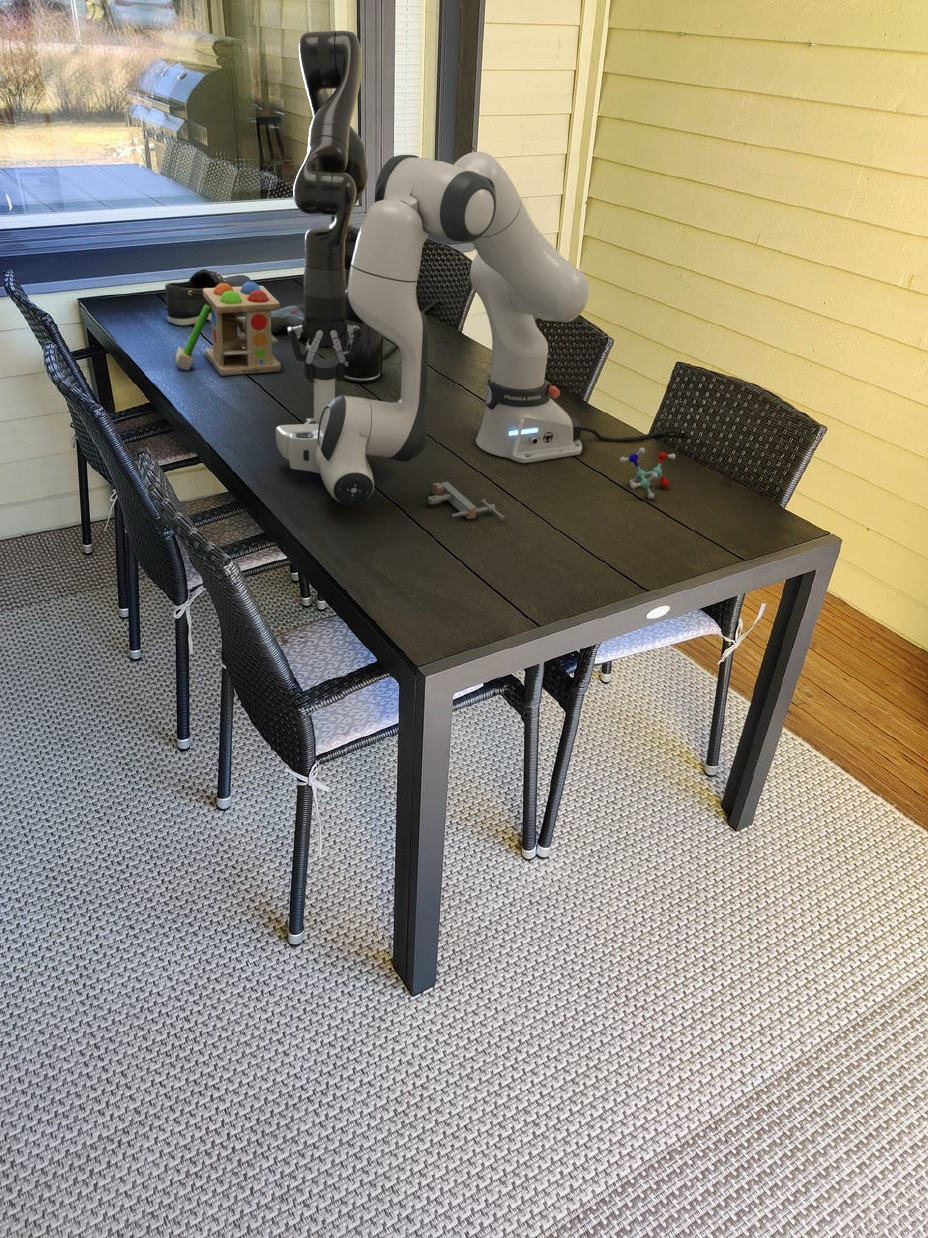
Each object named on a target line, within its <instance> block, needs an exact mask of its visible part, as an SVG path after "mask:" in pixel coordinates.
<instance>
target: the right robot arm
mask: <svg viewBox="0 0 928 1238" xmlns="http://www.w3.org/2000/svg"><path fill="white" fill-rule="evenodd" d="M359 228H360V231H359V234H358V237H357V240H356V244H355V248H354V252H353V257H352V262H351V268H350V271H349V273H348V280H347V281H348V282H347V284H348V285H347V286H348V298H349V302H350V305H351V307H352V309H353V310H354V312H355V313H356V314H357V316H358V317H359V318H360V319H361V320H362V321H363V322H365V323H366V324H367V325H369V326H370V327H371V328H373V329H374V330H376V331H378V332H379V333H381V334H382V335H383V337H385V338H387V339H389V340H390V341H391V342H393V343H394V344H397V345H398V347H397V348H399V350H400V353H401V380H400V381H401V382H400V383H401V384H400V398H399V399H398V400H397V401H395V402H391V401H384V400H378V399H369V398H366V397H359V396H353V395H343V394H339V395H338V396H335V399H333V400H332V401H331V402H330V403H329V404H328V405H327V406H326V407H325V408H324V410H323V412H322V414H321V418H320V421H319V424H315V420H314V417H313V418H312V417H310V418H309V417H308V418H305V423H301V424H300V423H299V424H298V423H297V424H280V425H278V426H276V427H275V443H276V444H275V445H276V447H277V449H278V452H279V453H280V454H281V456H282V457H283V458H284V459H286V460H287V461H288V464H289V467H290V469H292V470H296V471H303V472H304V471H305V472H311V473H315V474H319V475H320V478H321V480H322V482H323V485H324V486H325V489H326V490H327V492H328V493H329V495H330V496H331V497H332V498H333V499H334V500H335V501H337V502H338V503H340V504H343V505H347V506H348V505H350V506H353V505H359V504H362V503H363V502H365V501H367V500H368V499H370V497H371V496H372V494H373V493H374V491H375V481H374V480H375V479H374V475H373V471H372V468H371V465H370V462H369V461H368V458H367V456H372V457H381V458H386V459H389V460H394V461H398V462H403V463H407V462H409V461H411V460H413V459H415V457H417V456H418V455H420V454H421V453H422V452H423V451H424V449H425V447H426V443H427V438H428V420H427V419H428V417H427V396H428V380H429V379H428V375H429V359H430V358H429V357H430V354H429V353H430V329H429V323H428V319H427V315H426V314H425V313H424V314H423V313H422V312H421V311H422V310H420V309H419V308H420V307H419V304H418V299H417V285H418V280H419V274H420V268H421V261H422V253H423V252H422V251H423V245H424V244H425V242H426V240H427V239H428V237H429V234H430V235H434V236H436V237H437V236H438V237H443V238H447V239H450V240H451V241H453V242H460V243H470V242H471V244H472V245H473V247H474V249H475V251H476V254H475V256H474V258H473V259H472V262H471V265H470V271H469V277H470V279H469V280H470V283H471V286H472V289H473V290H474V291H475V293H476V294H477V295H478V297H479V299H480V300H481V302H482V304H483V306H484V309H485V312H486V315H487V318H488V322H489V326H490V332H491V342H492V345H491V361H490V373H489V375H488V376H487V380H486V387H485V396H484V397H485V399H484V400H485V407H484V412H483V417H482V421H481V424H480V427H479V430H478V432H477V435H476V437H475V444H476V445H477V447H478V448H480V449H481V450H483V451H485V452H487V453H489V454H491V455H494V456H497V457H501V458H502V457H503V458H507V459H510V460H512V461H515V462H516V463H520V464H526V463H528V464H529V463H533V462H534V463H535V462H541V461H546V460H552V459H553V460H554V459H559V458H566V457H573V456H578V455H581V454H582V453H583V444H582V441H581V434H582V431H583V432H588V433H591V434H593V435H594V436H595V437H596V438H597V439H598V440H601V441H604V442H612V443H625V442H635V441H636V442H637V441H642V440H645V439H649V438H653V437H659V436H664V435H665V436H667V435H670V434H676V433H675V430H673V429H667V430H662V431H653V432H650V433H647V434H643V435H638V436H632V437H607V436H603V435H601V434H600V433H599V432H598V431H597V430H596V429H593V428H591V427H589V426H588V427H587V426H582V425H581V424H580V422H579V421H578V420H577V418H575V417H574V416H569V414H568V413H567V411H565V409H563V407H561V406H560V405H559V404H558V403H557V402H556V401H555V400H553V399H557V398H559V397H560V394H561V391H560V389H559V388H557V386H555V385H552V383H551V382H549V381H548V380H546V379H545V378H546V371H547V363H548V356H549V345H548V341H547V339H546V337H545V336H544V334H543V333H542V331H540V329H539V328H538V325H537V323H536V321H535V318H537V319H539V320H542V321H547V322H555V323H570V322H572V321H574V320H575V319H576V318H578V317H579V316H580V315H581V313H583V311H584V309H585V308H586V306H587V303H588V301H589V295H590V286H589V281H588V278H587V276H586V275H585V273H584V272H582V271H581V270H580V269H578V268H576V266H574V265H573V264H572V263H570V261H568V260H567V259H566V258H565V257H564V256H563V255H562V254H560V252H559V251H558V250H557V249H556V248H555V247H554V246H553V245H552V244H551V243H550V242H549V240H548V239H547V238H546V237H545V236H544V235H543V233H542V232H541V231H540V230H539V229H538V228H537V226H536V225H535V224H534V222H533V220H532V217H531V216H530V214H529V212H528V210H527V208H526V206H525V204H524V202H523V200H522V199H521V196H520V194H519V192H518V190H517V188H516V186H515V184H514V183H513V181H512V179H511V178H510V176H509V174H507V171H506V170H505V169H504V168H503V166H502V165H501V164H500V162H499V161H497V159H496V158H495V157H493V155H491V154H490V153H487V152H483V151H473V152H469V153H467V154H465V155H463V156H461V157H460V158H459V159H457V160H456V161H455V162H454V163H453V164H452V163H449V162H446V161H442V160H435V159H432V158H431V159H430V158H424V157H420V156H418V155H415V154H398V155H395V156H392V157H391V158H389V159H388V160H387V161H386V162H385V163H384V165H383V166H382V168H381V169H380V172H379V174H378V176H377V179H376V183H375V188H374V202H373V203H372V204H371V205H370V206H368V208H367V210H366V212H365V215H364V217H363V219H362V222H361V225H360V227H359ZM678 434H680V435H681V436H682V437H684V438H688V437H689V435H688V434H687V433H686V434H684V433H678Z"/></svg>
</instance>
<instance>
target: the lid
mask: <svg viewBox="0 0 928 1238" xmlns="http://www.w3.org/2000/svg"><path fill="white" fill-rule="evenodd" d="M312 363H313V379H314V378H316V379H320V380H331V379H335V380H336V377H337V363H336V360H333V359H330V358H329V359H328V358H318V359H313V360H312Z"/></svg>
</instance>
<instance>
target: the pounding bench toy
mask: <svg viewBox="0 0 928 1238" xmlns="http://www.w3.org/2000/svg"><path fill="white" fill-rule="evenodd" d="M203 296H204V297H205V299H206V300H207V301H208V302H209V304H210V305H211V307H210V306H208V305H204V307H203V309H202V311H201V314H200V316H199V318H198V320H197V322H196V323H195V324H194V327H193V329H192V331H191V332H190V333H191V334H190V336H189V338H188V340H187V343H186V344H185V347H184V348H182V347H180V346H179V347H178V349H177V351H176V354H175V357H174V358H175V362H176V365H177V366H178V368H179V369H182V370H185V371H189V370H190V369H191V367H192V365H193V363H194V356H193V351H194V348H195V347H196V345H197V342H198V340H199V337H200V336H201V333H202V332H203V329H204V326H205V325H206V322H207V321H210V322H211V336H212V337H211V338H212V339H211V340H212V348H205V349H204V352H205V353H204V355H205V357H206V359H208V361H209V363H210V364H211V365H212V366H213V367H214V369H215V370H216V371H217V372H218V374H219V375H220V376H222V377H223V376H234V375H235V376H236V375H246V374H247V375H250V374H262V373H275V372H281V370H282V364H281V363H280V362H279V360H278V359H277V358H276V357H275V356H274V355H273V348H272V347H273V345H272V344H276V343H278V342H279V341H278V339H277V338H276V337H275V336H274V334H273V333H272V334H271V312H272V311H275V310H280V309H281V304H280V301H278V300H277V299H276V297H274V296H273V295H272V294H271V293H270V292H269V290H268V289H267V288H266V287H264V285H259V284H257V283H256V282H255V281H252V282H247V283H245V284H244V285H243V286H242V287H231V286H230V285H228V284H226V283H221V284H218V285H217V286H216V287H215V288H204V289H203ZM210 310H211V314H209V312H210ZM238 313H244V314H245V315H244V316H238ZM207 318H209V320H207ZM238 329H239V331H240V333H239V334H238Z"/></svg>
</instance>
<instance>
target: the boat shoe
mask: <svg viewBox="0 0 928 1238" xmlns="http://www.w3.org/2000/svg"><path fill="white" fill-rule="evenodd" d="M247 282H253V281H252V280H251V278H250V277H249V276H247V275H244V274H235V275H232V276H231V275H230V276H227V277H223V276H222V275H221V274H219V273H217V272H215V271H212V270H207V269H200V270H198V271H196V272H194V273H193V274H192V275H191V276H190V278H189V279H188V280H187V281H180V282H167V283H166V284H165V285H164V289H165V295H166V296H165V306H164V310H165V311H166V312H167V313H166V318H167V322H168V323H170V324H173V325H176V326H190V325H195V324H196V322H197V320H198V318H199V316H200V314H201V311H202V309H203V307H204V305H208V306H210V307H211V305H210V304H209V302H208V301H207V300H206V299H205V297H204V296H203V289H204V288H215V287H216V286H217V285H218V284H221V283H226V284H228V285H230V286H231V287H242V286H243V285H244V284H245V283H247ZM209 314H211V310H210V312H209ZM206 321H210V320H209V318H207V320H206Z"/></svg>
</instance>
